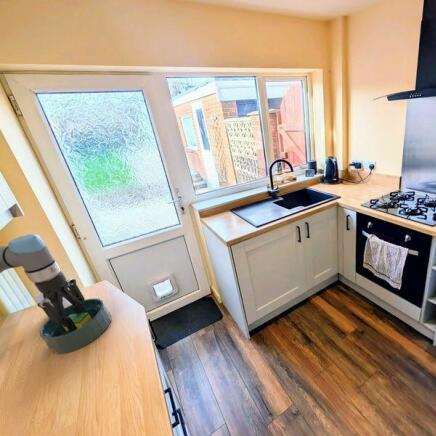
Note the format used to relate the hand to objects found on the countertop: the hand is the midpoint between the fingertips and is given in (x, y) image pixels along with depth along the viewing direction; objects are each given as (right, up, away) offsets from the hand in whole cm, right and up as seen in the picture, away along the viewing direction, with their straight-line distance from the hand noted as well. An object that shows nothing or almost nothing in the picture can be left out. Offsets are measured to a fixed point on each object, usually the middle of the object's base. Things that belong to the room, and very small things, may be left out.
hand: (79, 324), depth 95 cm
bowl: (0, -3, +2) cm, 4 cm away
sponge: (0, 0, 0) cm, 0 cm away
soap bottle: (-20, 0, +14) cm, 24 cm away
